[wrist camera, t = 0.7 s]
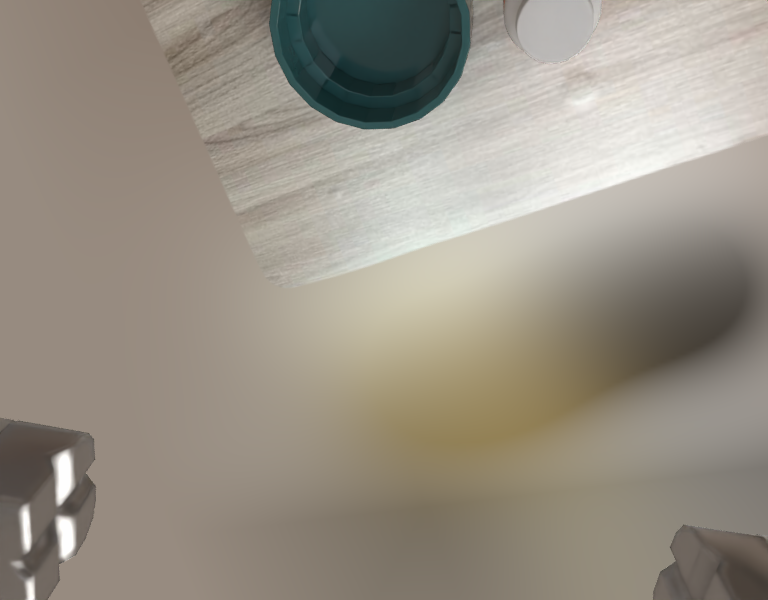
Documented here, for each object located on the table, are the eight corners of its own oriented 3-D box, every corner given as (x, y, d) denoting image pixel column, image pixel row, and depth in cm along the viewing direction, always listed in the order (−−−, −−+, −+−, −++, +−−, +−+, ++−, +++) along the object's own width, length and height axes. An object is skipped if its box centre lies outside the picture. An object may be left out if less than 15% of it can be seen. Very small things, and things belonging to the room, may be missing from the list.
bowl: (388, -143, 48) (376, -130, 43) (510, 23, 54) (511, 50, 49) (252, -4, 55) (229, 20, 50) (373, 129, 61) (362, 162, 56)
